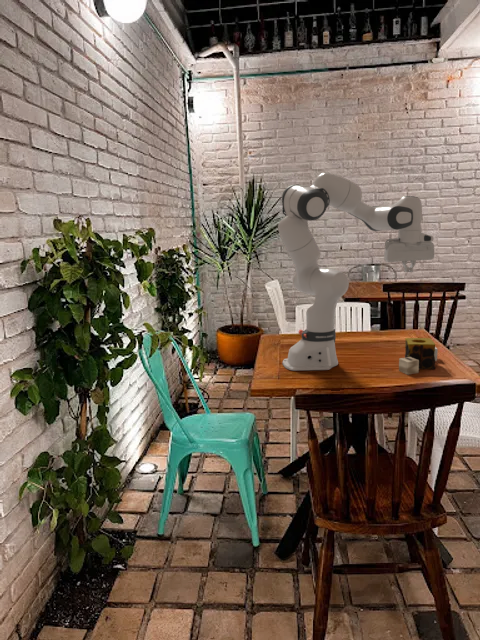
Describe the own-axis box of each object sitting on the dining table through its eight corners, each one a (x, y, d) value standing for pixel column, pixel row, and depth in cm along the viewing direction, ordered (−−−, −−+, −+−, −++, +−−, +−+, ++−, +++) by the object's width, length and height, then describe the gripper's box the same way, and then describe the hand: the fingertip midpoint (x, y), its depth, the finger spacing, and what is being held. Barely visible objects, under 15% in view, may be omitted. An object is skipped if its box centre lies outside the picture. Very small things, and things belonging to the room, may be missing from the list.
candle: (435, 369, 181) (436, 344, 179) (407, 369, 183) (408, 344, 181) (430, 362, 191) (431, 337, 189) (404, 361, 193) (405, 337, 191)
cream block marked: (424, 360, 192) (424, 348, 191) (421, 357, 197) (421, 345, 196) (437, 360, 192) (437, 348, 191) (433, 357, 197) (434, 345, 196)
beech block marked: (407, 374, 177) (407, 361, 176) (398, 371, 181) (399, 357, 180) (418, 373, 178) (418, 359, 177) (410, 369, 183) (410, 356, 182)
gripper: (388, 239, 187) (387, 274, 190) (437, 236, 190) (435, 271, 192) (381, 238, 193) (381, 272, 196) (428, 236, 196) (427, 269, 199)
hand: (408, 272), depth 194 cm, fingers closed
